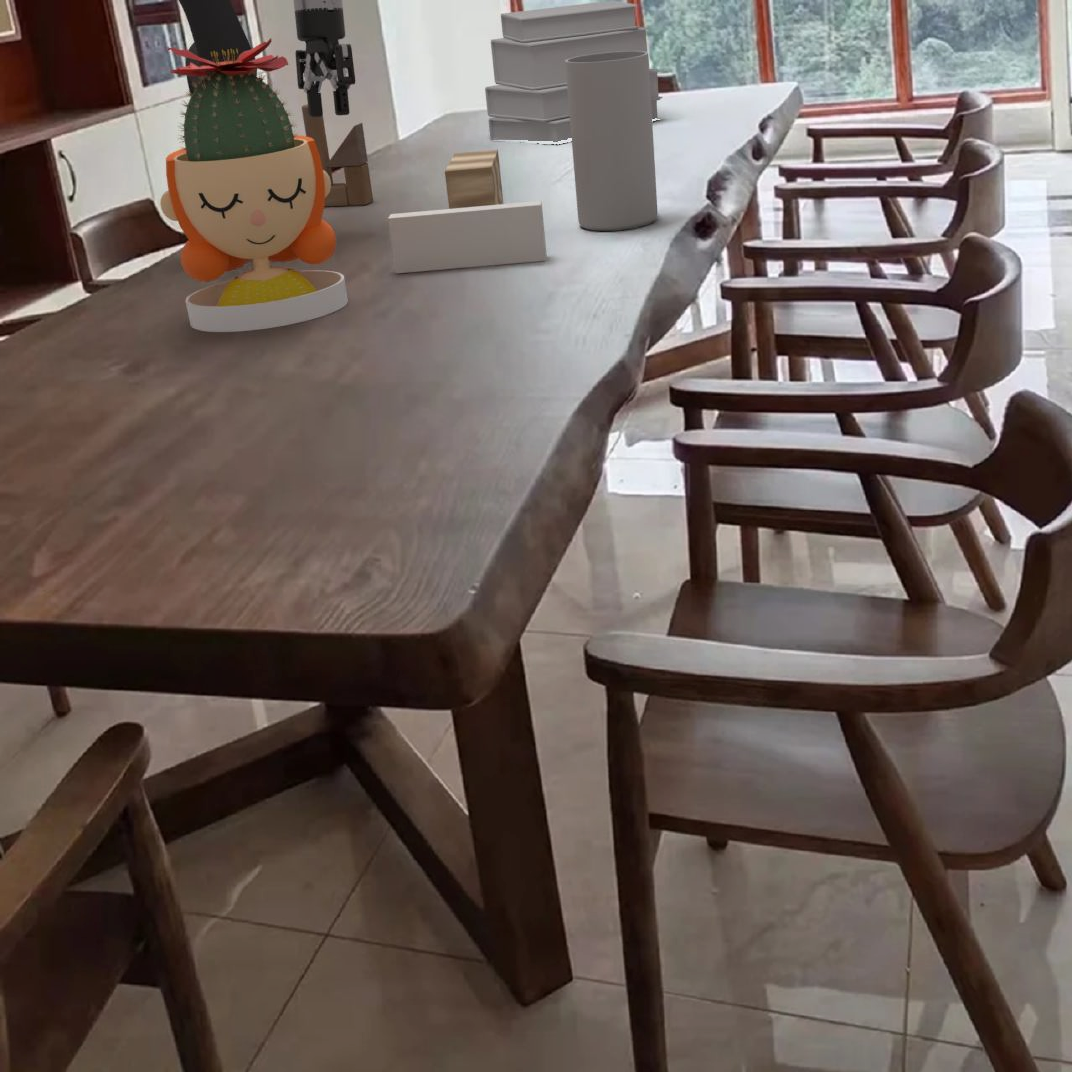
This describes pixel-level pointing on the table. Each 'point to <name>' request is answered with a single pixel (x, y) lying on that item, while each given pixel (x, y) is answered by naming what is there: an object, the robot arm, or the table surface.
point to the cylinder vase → (612, 140)
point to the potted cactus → (249, 201)
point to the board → (468, 237)
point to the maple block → (474, 179)
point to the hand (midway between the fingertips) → (329, 116)
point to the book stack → (553, 65)
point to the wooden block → (343, 163)
